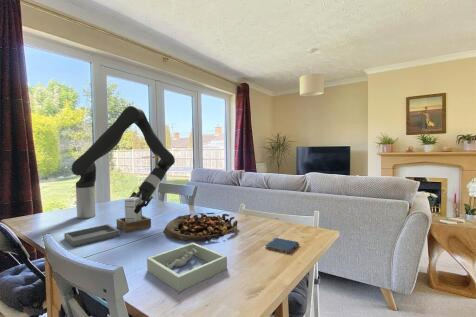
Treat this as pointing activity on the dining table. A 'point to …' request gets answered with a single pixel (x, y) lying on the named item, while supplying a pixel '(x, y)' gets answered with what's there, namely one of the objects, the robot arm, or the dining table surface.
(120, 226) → the walnut collar
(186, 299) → the dining table surface
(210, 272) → the sage display box
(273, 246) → the woven mat
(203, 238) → the food dish
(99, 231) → the charcoal tray
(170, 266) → the soldier figure
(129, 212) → the syrup box
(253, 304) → the dining table surface
